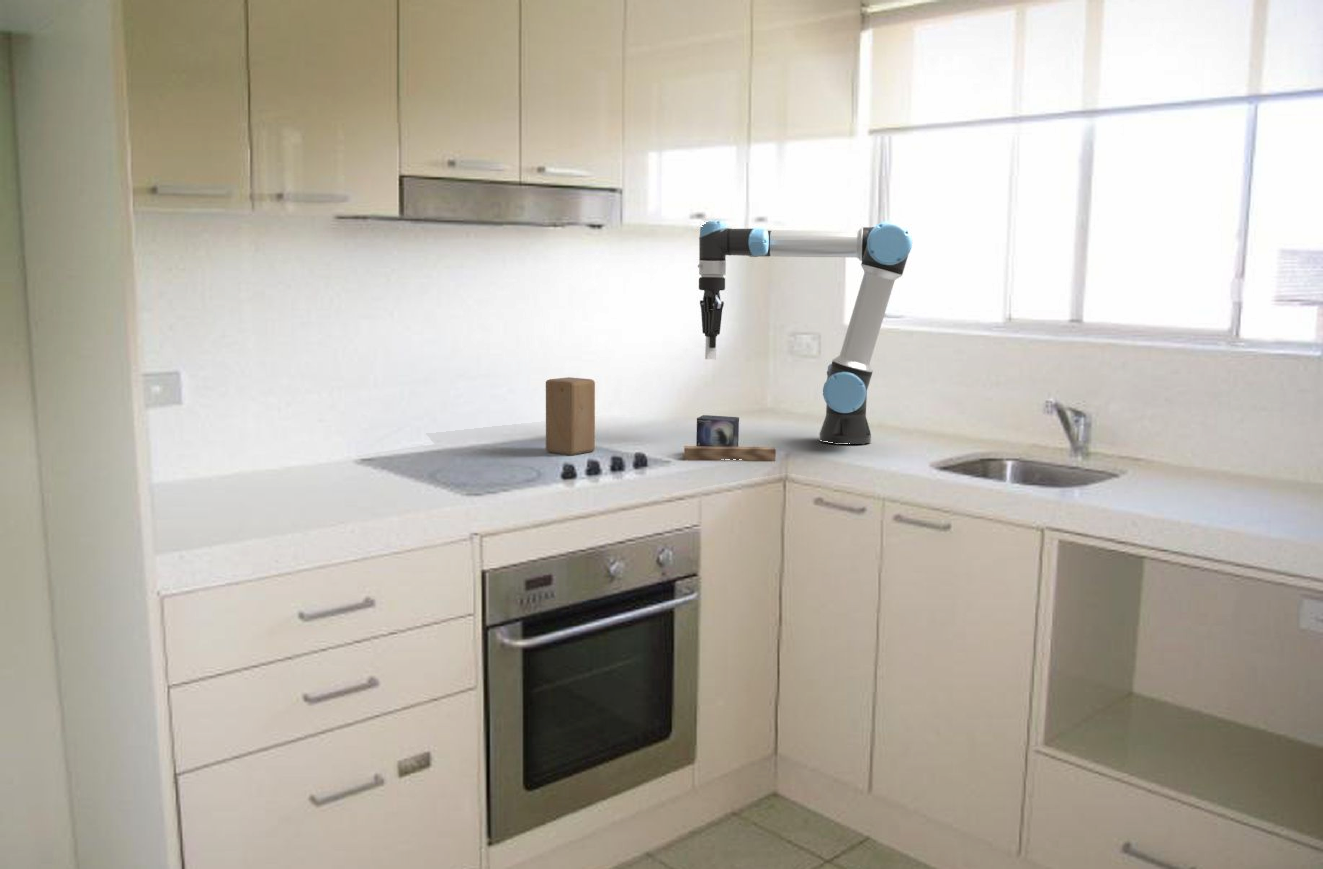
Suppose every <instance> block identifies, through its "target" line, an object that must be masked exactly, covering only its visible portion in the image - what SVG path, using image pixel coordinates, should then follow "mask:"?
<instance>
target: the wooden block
mask: <svg viewBox="0 0 1323 869" xmlns="http://www.w3.org/2000/svg"><path fill="white" fill-rule="evenodd" d="M595 410H596V382H595V380H593V379H591V378H581V377H580V378H579V377H570V376H569V377H560V378H551V379H547V380H545V451H546V452H548V453H551V452H552V454H558V455H564V454H565V455H567V456H577V455H582V454H587V453H593V452H594V451H595V446H596V444H595V443H596V442H595V441H596V439H595V438H596V436H595V434H596V432H595V431H596V429H595V428H596V424H595V422H596V421H595V420H596V418H595V417H596V416H595V415H596V411H595Z"/></svg>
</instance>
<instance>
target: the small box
mask: <svg viewBox="0 0 1323 869" xmlns="http://www.w3.org/2000/svg"><path fill="white" fill-rule="evenodd" d="M739 428H740V417H739V416H724V415H723V416H722V415H711V414H710V415H709V414H708V415H707V414H703V415H701V416H699V417H697V418H696V440H695V441H696V444H695V446H726V447H739V436H740V430H739Z"/></svg>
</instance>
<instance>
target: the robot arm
mask: <svg viewBox="0 0 1323 869" xmlns="http://www.w3.org/2000/svg"><path fill="white" fill-rule="evenodd" d="M707 221H708V222H706V224H704V225H702V226H703V227H700V226H699V227H700V228H699V237H698V240H699V242H698V244H699V246H698V247H699V248H698V249H699V255H698V256H699V258H698V260H699V261H698V262H699V263H698V265H697V268H699V269H698V275H699V277H698V290H700V291H704V292H703V297H702V300H699V306H700V312H701V315H700V316H701V327H702V328H701V330H702V334H704V336H705V347H704V348H705V354H704V356H705V360H717V337H718V335H719V336H720V332H721V324H722V315H723V308H724V304H725V302H724V301H721V292H720V291H725V289H726V278H725V277H724V276H726V268H727V263H726V262H727V261H726V256H744V257H745V256H746V257H747V256H748V257H750V258H758V257H766V258H769V257H777V258H778V257H779V258H781V257H783V258H785V257H787V258H790V257H791V258H793V257H794V258H795V257H796V258H797V257H799V258H800V257H801V258H857V259H858V260H859V261H861V264H860V265H861V268H862V269H863V272H864V273H863V276H862V280H861V283H860V286H859V290H858V292H857V296H856V300H855V303H854V306H853V310H852V313H851V316H850V320H849V323H848V325H847V329H846V333H845V336H844V339H843V343H842V347H841V350H840V352H839V353H840V354H839V355H838V356H836V357H834V358H833V359H832V361H831V363H830V364H829V365H828V366H827V371H826V375H827V377H826V381H825V382H824V385H823V387H822V388H823V389H822V395H823V399H824V401H825V403H826V408H825V416H824V420H823V422H822V426H821V428H820V432H819V434H818V435H819V439H820V440H822V441H828V442H833V443H848V444H849V443H850V444H862V445H864V444H863V443H869V444H871V443H872V434H871V430H870V426H869V422H868V419H867V399H868V398H867V397H868V396H867V394H868V389H869V385H870V381H871V379H872V377H873V376H872V375H873V372H874V369H873V368H872V366H871V365H870V363H871V360H872V356H873V353H874V351H875V346H876V344H877V339H878V336H879V334H880V330H881V327H882V323H883V320H884V317H885V314H886V311H887V307H888V304H889V301H890V298H891V294H892V291H893V288H894V284H895V282H896V280H897V279H898V280H899V278H901V277H903V274H904V271H905V267H906V264H907V261H908V258H909V254H910V253H911V251H912V248H913V238H912V234H911V232H910V230H909V229H908V228H907V226H905V225H904V224H903V223H900V222H898V221H893V220H885V221H882V222H880V223H877V224H876V225H875V226H868V227H867V226H866V227H865V226H863V227H861V228H859V229H858V230H768V229H766V228H756V227H754V228H728V226H727V222H725V221H720V220H719V221H717V220H712V221H711V220H707ZM870 442H871V443H870Z"/></svg>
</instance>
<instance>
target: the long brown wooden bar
mask: <svg viewBox="0 0 1323 869" xmlns="http://www.w3.org/2000/svg"><path fill="white" fill-rule="evenodd" d="M683 448H684V449H683V450H684V451H683V459H684V461H718V460H721V459H724V460H725V459H730V460H733V459H736V460H739V459H742V460H745V461H744V462H776V451H777V450H776V448H775V446H738V447H726V446H696V445H684V446H683Z"/></svg>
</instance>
